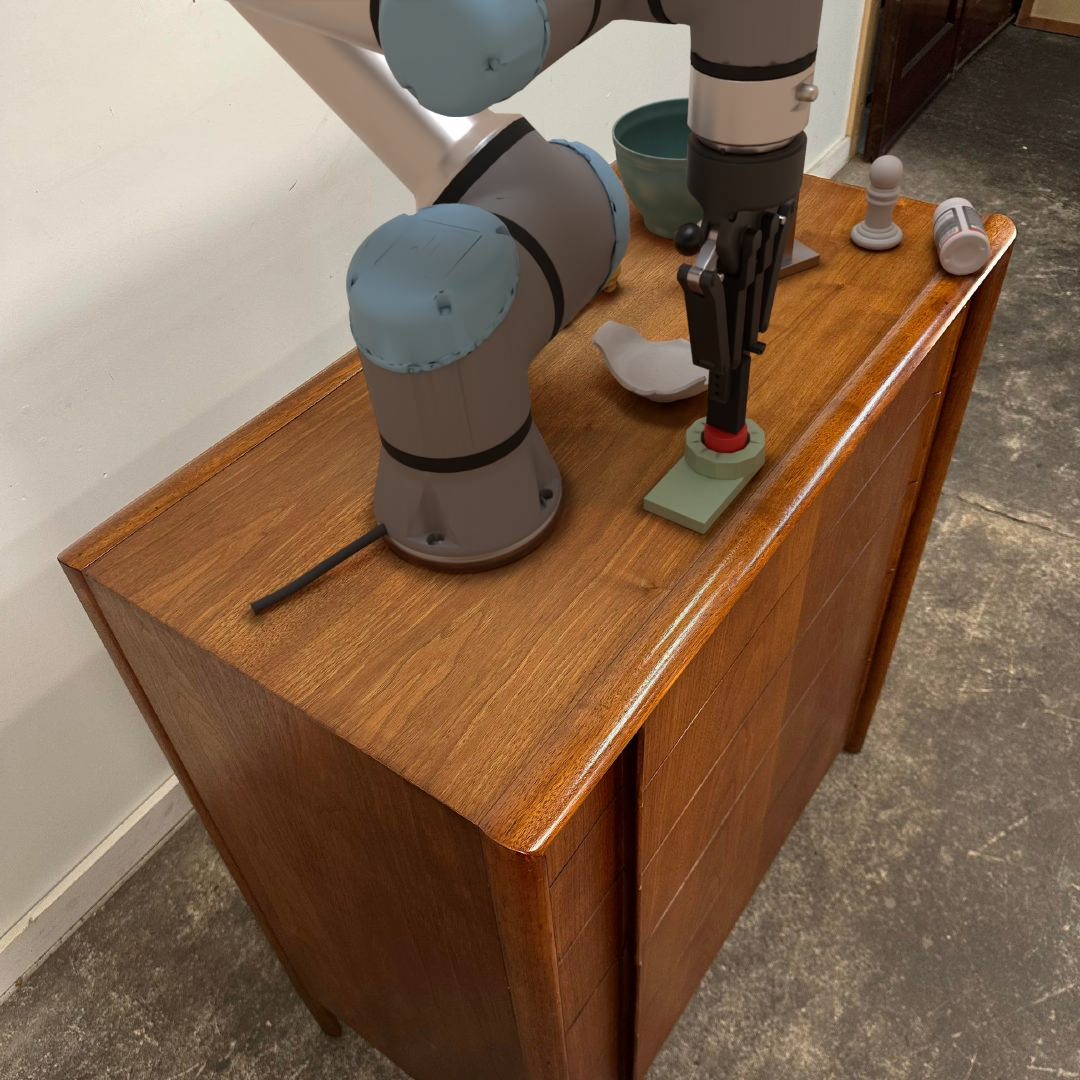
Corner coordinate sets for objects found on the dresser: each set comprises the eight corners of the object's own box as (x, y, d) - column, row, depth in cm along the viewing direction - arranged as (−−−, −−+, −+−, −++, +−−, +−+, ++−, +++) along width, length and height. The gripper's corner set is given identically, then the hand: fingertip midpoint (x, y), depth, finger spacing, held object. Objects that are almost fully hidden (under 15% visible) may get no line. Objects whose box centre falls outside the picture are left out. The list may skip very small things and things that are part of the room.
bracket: (739, 293, 101) (748, 182, 92) (701, 265, 105) (705, 156, 97) (818, 264, 104) (833, 154, 95) (777, 238, 108) (788, 130, 100)
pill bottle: (988, 273, 99) (975, 233, 105) (993, 230, 96) (979, 191, 102) (938, 278, 100) (928, 238, 106) (941, 236, 97) (930, 197, 103)
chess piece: (844, 246, 105) (856, 164, 99) (857, 224, 109) (870, 142, 102) (895, 255, 103) (911, 171, 97) (907, 231, 107) (923, 149, 100)
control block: (708, 536, 76) (710, 508, 74) (639, 507, 79) (639, 479, 77) (775, 457, 82) (778, 428, 80) (708, 432, 85) (710, 404, 83)
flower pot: (586, 235, 111) (581, 139, 104) (662, 178, 120) (663, 86, 113) (711, 271, 104) (716, 171, 96) (783, 207, 113) (793, 111, 105)
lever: (691, 268, 98) (680, 245, 96) (673, 254, 100) (662, 232, 98) (793, 182, 98) (784, 156, 95) (773, 170, 100) (764, 145, 97)
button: (733, 461, 79) (734, 444, 78) (695, 447, 80) (696, 430, 79) (753, 438, 81) (755, 421, 79) (716, 425, 82) (717, 408, 81)
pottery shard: (722, 424, 86) (725, 377, 82) (594, 429, 87) (592, 383, 83) (712, 355, 93) (714, 309, 90) (594, 361, 94) (592, 316, 91)
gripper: (751, 183, 57) (726, 486, 74) (847, 103, 64) (805, 396, 81) (641, 157, 61) (641, 453, 77) (744, 84, 68) (723, 369, 84)
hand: (725, 423), depth 79 cm, fingers closed
